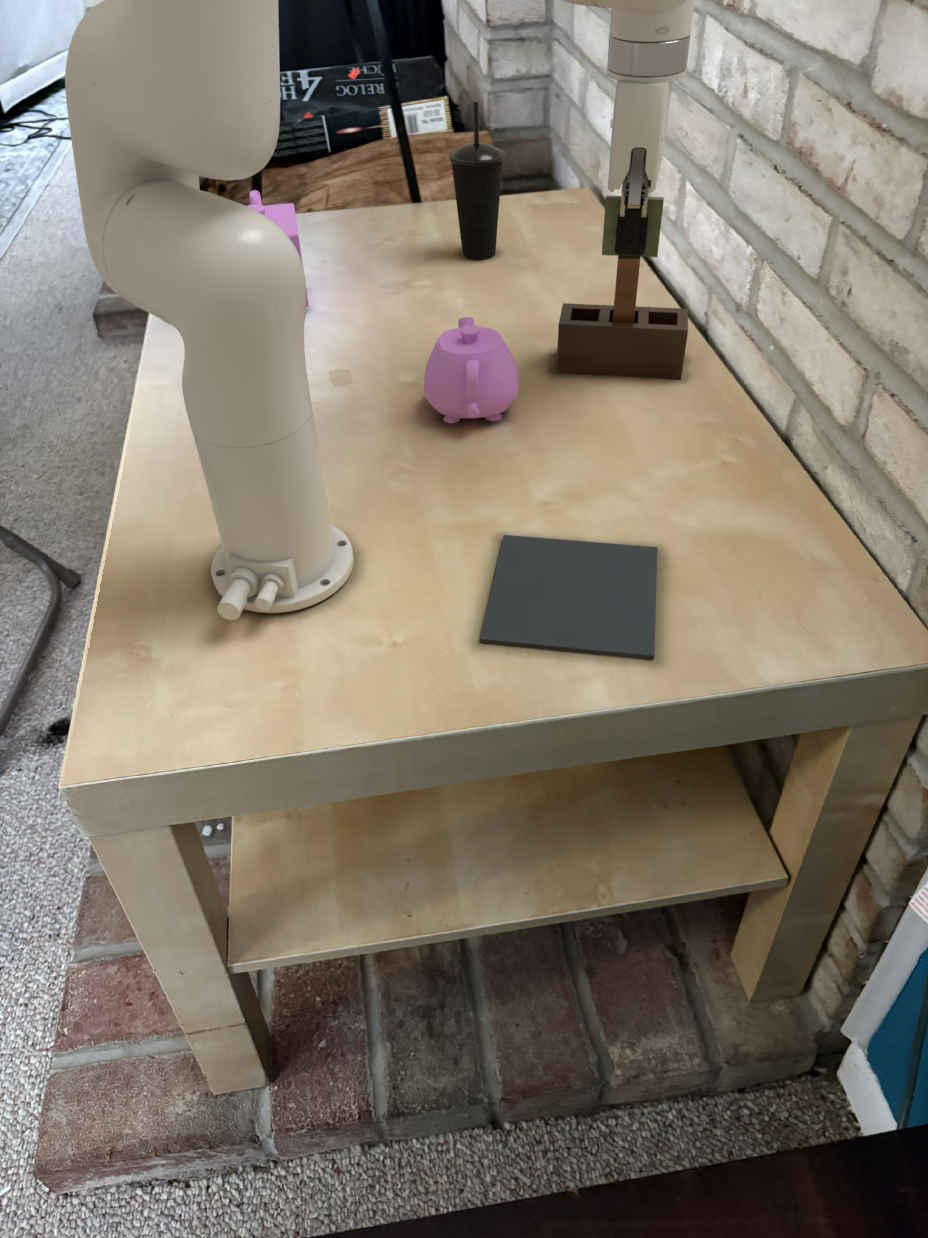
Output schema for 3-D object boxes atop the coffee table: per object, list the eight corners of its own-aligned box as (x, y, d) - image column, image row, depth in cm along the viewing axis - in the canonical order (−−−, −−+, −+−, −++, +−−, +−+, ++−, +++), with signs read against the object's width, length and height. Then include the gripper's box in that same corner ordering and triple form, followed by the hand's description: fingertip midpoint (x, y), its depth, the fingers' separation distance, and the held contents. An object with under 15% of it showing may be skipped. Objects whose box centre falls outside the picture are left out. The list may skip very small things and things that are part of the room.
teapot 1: (311, 325, 119) (296, 226, 111) (232, 334, 118) (211, 234, 110) (303, 266, 134) (289, 174, 125) (233, 273, 133) (214, 181, 124)
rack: (681, 379, 106) (688, 329, 102) (556, 372, 108) (558, 323, 104) (681, 356, 110) (687, 308, 106) (560, 350, 112) (563, 302, 108)
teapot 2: (426, 440, 98) (420, 359, 92) (424, 373, 109) (419, 296, 103) (523, 436, 98) (524, 355, 92) (512, 368, 109) (512, 292, 103)
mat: (653, 659, 73) (654, 655, 73) (480, 642, 75) (480, 638, 75) (656, 550, 83) (657, 546, 83) (503, 537, 85) (503, 534, 85)
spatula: (644, 370, 108) (663, 202, 95) (593, 367, 109) (605, 200, 96) (645, 361, 110) (664, 194, 97) (594, 358, 110) (606, 192, 98)
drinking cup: (444, 249, 137) (437, 99, 123) (490, 240, 139) (489, 91, 125) (466, 267, 132) (461, 112, 118) (513, 257, 134) (514, 104, 120)
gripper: (612, 38, 94) (599, 224, 106) (603, 75, 83) (590, 277, 95) (687, 39, 92) (665, 226, 105) (688, 76, 81) (664, 280, 94)
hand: (629, 249), depth 100 cm, fingers closed on spatula, 1 cm apart
